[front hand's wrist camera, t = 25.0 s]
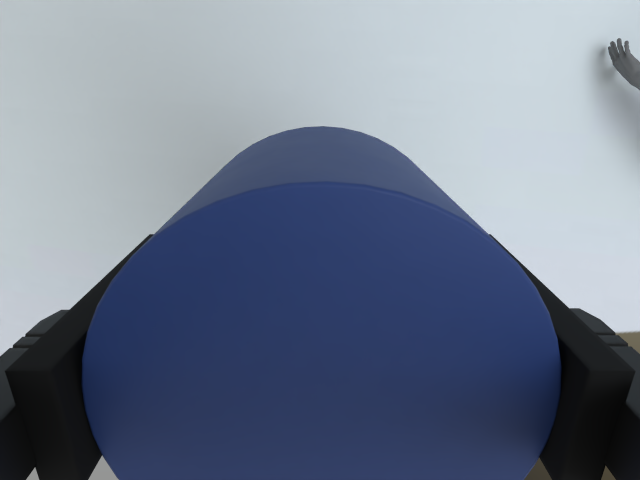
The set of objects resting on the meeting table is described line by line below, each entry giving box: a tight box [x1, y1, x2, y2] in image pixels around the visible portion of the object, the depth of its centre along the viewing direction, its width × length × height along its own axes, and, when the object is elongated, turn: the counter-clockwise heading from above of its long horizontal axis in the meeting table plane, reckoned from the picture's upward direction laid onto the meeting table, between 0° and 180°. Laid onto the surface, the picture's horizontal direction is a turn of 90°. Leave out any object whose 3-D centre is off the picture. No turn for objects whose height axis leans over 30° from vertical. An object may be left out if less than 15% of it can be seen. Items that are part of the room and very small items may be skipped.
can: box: [82, 126, 561, 480], centre depth 12 cm, size 9×9×8 cm
